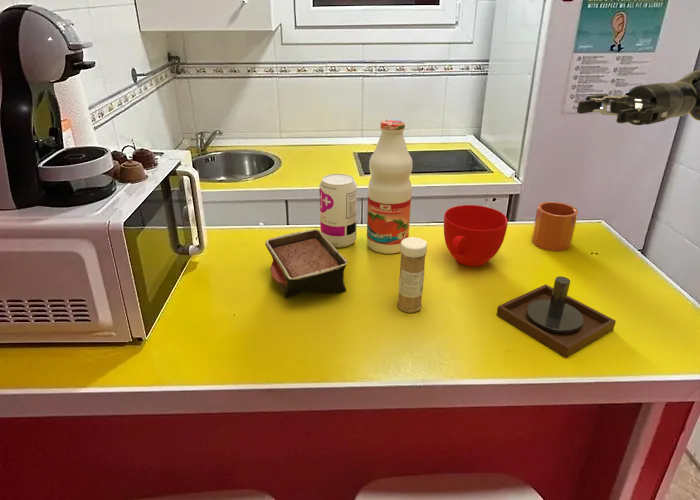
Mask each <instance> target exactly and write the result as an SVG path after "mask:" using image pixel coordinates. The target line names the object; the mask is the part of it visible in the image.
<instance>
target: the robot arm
mask: <svg viewBox="0 0 700 500" xmlns="http://www.w3.org/2000/svg"><path fill="white" fill-rule="evenodd" d="M608 106H609V110H608ZM576 113H577V114H580V115H581V114H588V113H589V114H590V113H600V114H601V115H602V116H615V117H616V123H617V124H625V123H629V124H631V125H634V126H644V125H647V126H648V125H652V124H657V123H661V122H665V121H667V120H669V119H673V118H679V117H683V116H686V115H688V114H689V115H690V116H691V118H693V120H696V121H699V122H700V70H693V71H691V72H689V73H687V74H686V75H684V76H683V77H681V79H680V78H679V80H677V81H673V82H656V83H649V84H643V85H641V84H640V85H636V86H635V87H632V88H630V89H629V90H628V91H626V93H625V94H620V95H609V94H607V93H601V94H593V95H585V96H584V100H580V101H579V102H578V104H577V109H576Z"/></svg>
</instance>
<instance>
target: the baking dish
mask: <svg viewBox="0 0 700 500" xmlns="http://www.w3.org/2000/svg"><path fill="white" fill-rule="evenodd" d="M264 245H265V247H266V249H267V251H268V253H269V254H270V255H271V258H272V261H271V264H270V274H271V278H272V279H273V281H274V282H275V283H276V285H277V286H278V287H279V289H280V290H281V291H282V294H283V296H284V297H285V299H288V298H291V297H294V296H297V295H299V294H301V293H305V292H306V293H317V294H319V293H320V294H338V293H344V292H345V293H346V292H347V288H346V285H345V281H344V278H345V275H344V274H345V270H346V267H347V265H348V264H349V261H348V260H347V258H346V257H345V256H343V254H342V253H341V252H340V251H339V250H338V248H336V247H334V246H333V245H332V244H331V242H330V241H329V240H328V239H327V238H326V237H325V236H324V234H323V233H322V232H321V230H319V229H317V228H316V229H309V230H308V229H307V230H303V231H302V230H301V231H296V232H291V233H288V234H287V233H286V234H282V235H278V236H275V237H271V238H268V239H267V240H265V244H264Z"/></svg>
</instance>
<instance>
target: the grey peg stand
mask: <svg viewBox="0 0 700 500" xmlns="http://www.w3.org/2000/svg"><path fill="white" fill-rule="evenodd" d="M570 285H571V279H569V278H568V277H566V276H560V275H559V276H556V277H555V278H554V283H553V287H552V288H553V291H552V296H551V300H537V301H534V302H532V303H531V304H529V306H528V307H527V316H528V318H529V319H530V320H531V321H532V322H533V323H534V324H535V325H537V326H539V327H541V328H543V329H545V330H548V331H552V332H558V333H570V332H575V331H577V330H579V329H580V328H581V327H582V326H583V322H584V319H583V316H582V314H581V313H580V312H579V311H578V310H577V309H575V308H574V307H572V306H570V305H568V304H566V303H565V302H566V298H567V296H568V293H569V289H570Z"/></svg>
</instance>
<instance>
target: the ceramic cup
mask: <svg viewBox="0 0 700 500" xmlns="http://www.w3.org/2000/svg"><path fill="white" fill-rule="evenodd" d="M508 223H509V219H508V217H507V216H506V214H504V213H503V212H501V211H499V210H497V209H495V208H492V207H488V206H483V205H476V204H462V205H457V206H453V207H450V208H448V209H446V210H445V212H444V214H443V237H444V243H445V245H446V248H447V250H448V252H449V253H450V254H451V256H452V257H453V258H454V260H455V261H456V262H457V263H458V264H460V265H463V266H466V267H481V266H483V265H485V264H486V263H487V262H489V261H491V259H492V258H494V257H495V256H496V254H498V252H499V250H500V248H501V247H502V245H503V243H504V240H505V236H506V234H507V229H508Z"/></svg>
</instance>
